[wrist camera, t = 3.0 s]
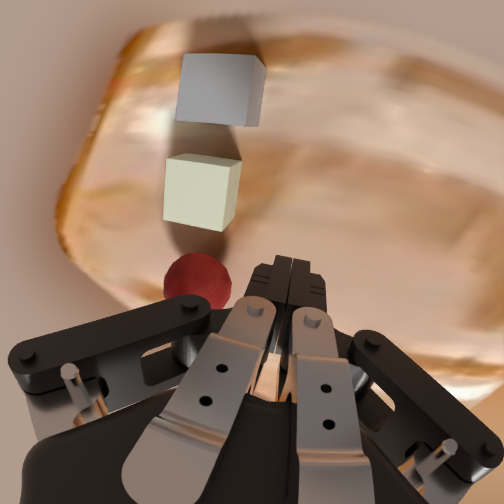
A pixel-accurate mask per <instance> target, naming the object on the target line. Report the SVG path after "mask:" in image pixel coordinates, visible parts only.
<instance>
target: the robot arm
mask: <svg viewBox="0 0 504 504" xmlns="http://www.w3.org/2000/svg"><path fill="white" fill-rule="evenodd" d="M291 264H292V268H291ZM290 271H291V273H290ZM325 289H326V287H325V281H324V279H323V278H322V277H321V275H319V274H314V273H310V261H305V260H300V259H295V258H294V259H293V263H292V258H290V257H285V256H280V255H276V257H275V260H274V264H273V265H268V264H263V263H261V264H260V265H258V266H257V267H255V269H254V271H253V274H252V276H251V279H250V282H249V284H248V287H247V289H246V292H245V294H244V297H243V298H240V299H239V300H237V302H236V303H235V305H234V307H233V308H229V309H211V305H210V303H209V301H208V300H207V299H205V298H203V297H201V296H198V295H194V294H184V295H179V296H176V297H173V298H169V299H166V300H163V301H160V302H156V303H153V304H150V305H146V306H143V307H140V308H136V309H133V310H130V311H127V312H123V313H120V314H116V315H113V316H110V317H106V318H103V319H100V320H96V321H93V322H89V323H86V324H82V325H79V326H75V327H72V328H69V329H65V330H61V331H58V332H54V333H51V334H47V335H44V336H40V337H36V338H33V339H29V340H25V341H22V342H20V343H18V344H17V345H16V346H14V347H13V349H12V350H11V351H10V353H9V356H8V364H9V367H10V368H11V370H12V372H13V374H14V376H15V378H16V379H17V381H18V384H19V386H20V388H21V390H22V392H23V393H24V395H25V396H26V400H27V404H28V408H29V412H30V416H31V420H32V423H33V427H34V430H35V434H36V437H37V440H38V443H37V444H35V445H34V446H33V447H32V448H31V450H30V451H29V452H28V454H27V456H26V458H25V460H24V463H23V468H22V491H21V498H20V504H458V503H459V502H460V501H461V499H462V498H463V497H464V495H465V494H466V493H467V491H468V490H469V489H470V487H471V486H472V485H473V484H475V483H476V482H477V481H479V480H480V479H481V478H483V477H484V476H486V475H487V474H488V473H490V472H491V471H492V470H493V469H495V468H496V467H497V466H499V465H500V463H501V462H502V460H503V457H504V448H503V444H502V442H501V440H500V439H499V437H498V436H497V435H496V434H494V433H493V432H492V431H491V430H490V429H489V428H488V427H487V426H486V425H485V424H484V423H483V422H481V421H480V420H479V419H478V418H477V417H476V416H475V415H474V414H473V413H471V412H470V411H469V410H468V409H467V408H466V407H465V406H464V405H463V404H462V403H460V402H459V401H458V400H457V399H456V398H455V397H454V396H453V395H451V394H450V393H449V392H448V391H447V390H446V389H445V388H444V387H442V386H441V385H440V384H439V383H438V382H437V381H436V380H435V379H433V378H432V377H431V376H430V375H429V374H428V373H427V372H425V371H424V370H423V369H422V368H421V367H420V366H419V365H417V364H416V363H415V362H414V361H413V360H412V359H411V358H409V357H408V356H407V355H406V354H405V353H404V352H402V351H401V350H400V349H399V348H398V347H397V346H395V345H394V344H393V343H392V342H391V341H390V340H388V339H387V338H386V337H385V336H384V335H382V334H380V333H378V332H376V331H372V330H361V331H358V332H357V333H356V334H355V335H354V337H351V336H349V335H346V334H344V333H342V332H340V331H338V330H336V329H335V328H334V327H333V322H332V319H331V317H330V316H329V315H328V314H327V304H326V290H325ZM279 329H280V330H279ZM278 333H279V335H278ZM277 337H278V341H277ZM276 341H277V347H276V352H275V354H281V359H280V363H279V366H278V370H277V383H276V397H275V402H268V401H265V400H263V399H260V398H258V397H256V396H254V393H255V390H256V387H257V385H258V382H259V379H260V376H261V373H262V370H263V366H264V363H265V362H266V360H267V358H268V354H269V352H270V353H274V349H275V345H276ZM170 342H171V347H169V348H166V349H164V350H161V351H158V352H156V353H153V354H150V355H147V356H145V357H142V355H143V354H144V353H145V352H146V351H148V350H151V349H153V348H156V347H159V346H161V345H164V344H167V343H170ZM141 357H142V358H141ZM374 382H375V383H376V384H377V385H378V386H379V387H380V388H381V389H382V390H383V391H384V392H385V393H386V394H387V395H388V396H389V397H390V398H391V399H392V400H393V401H394V404H395V411H393V410H392V409H391V408H390V407H389V406H388V405H387V404H386V403H385V402H384V401H383V400H382V399H381V398H380V397H379V396H378V395H377V394H376V393H375V392H374V391H373V390H372V389H371V386H372V384H373V383H374ZM177 385H178V387H177V388H175V389H170V388H172V387H174V386H177ZM167 389H170V390H167ZM165 390H166V391H165ZM148 397H149V398H148ZM143 399H144V400H143ZM141 400H142V401H141ZM138 401H140V402H138ZM135 402H137V403H135ZM133 403H135V404H133ZM131 404H133V405H131ZM128 405H131V406H128ZM125 406H128V407H126V408H123V409H121V410H119V411H116V412H114V413H111V414H109V415H108V413H109V412H112V411H114V410H117V409H120V408H122V407H125Z"/></svg>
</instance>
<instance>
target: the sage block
mask: <svg viewBox="0 0 504 504" xmlns="http://www.w3.org/2000/svg"><path fill="white" fill-rule="evenodd" d="M241 166H242V161H240V160H233V159H227V158H220V157H214V156H206V155H199V154H191V153H185V154H181V155H177V156H174V157H170V158H167V162H166V176H165V192H164V212H163V220H167V221H172V222H177V223H181V224H186V225H191V226H196V227H201V228H205V229H210V230H215V231H220V232H222V231H223V230H224V229H225V228H226V226H227V225H228V224H229V223H230V221H231V220H232V219H233V218H234V216H235V209H236V202H237V194H238V187H239V180H240V173H241Z"/></svg>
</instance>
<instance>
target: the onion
mask: <svg viewBox="0 0 504 504" xmlns="http://www.w3.org/2000/svg"><path fill="white" fill-rule="evenodd" d="M231 285H232V282H231V279H230V277H229V274H228V271H227V269H226V268H225V266H224V265H223V264H222V263H221V262H220V261H219V260H217V259H216V258H214V257H213V256H211V255H207V254H203V253H200V252H194V253H189V254H185V255H183V256H181V257H180V258H179V259H177V260H176V261H175V262H174V263H172V265H171V267H170V268H169V270H168V272H167V274H166V275H165V278H164V297H165V299H169V298H173V297H176V296H179V295H184V294H194V295H198V296H201V297H203V298H205V299H207V300H208V301H209V303H210V305H211V309H223V307H224V306H225V304H226V303H227V301H228V300H229V298H230V294H231Z"/></svg>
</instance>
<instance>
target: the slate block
mask: <svg viewBox="0 0 504 504" xmlns="http://www.w3.org/2000/svg"><path fill="white" fill-rule="evenodd" d="M266 70H267V69H266V67H265V66H264V65H263V64H262V63H261V61H260V60H259V59H258V58H257V57H256V56H255V55H242V54H219V53H189V54H184V56H183V62H182V69H181V76H180V84H179V92H178V100H177V109H176V118H175V121H190V122H204V123H215V124H225V125H234V126H243V127H258V126H259V119H260V112H261V105H262V98H263V91H264V84H265V77H266Z"/></svg>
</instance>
